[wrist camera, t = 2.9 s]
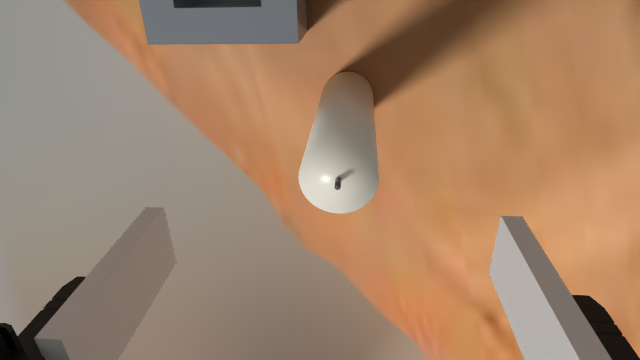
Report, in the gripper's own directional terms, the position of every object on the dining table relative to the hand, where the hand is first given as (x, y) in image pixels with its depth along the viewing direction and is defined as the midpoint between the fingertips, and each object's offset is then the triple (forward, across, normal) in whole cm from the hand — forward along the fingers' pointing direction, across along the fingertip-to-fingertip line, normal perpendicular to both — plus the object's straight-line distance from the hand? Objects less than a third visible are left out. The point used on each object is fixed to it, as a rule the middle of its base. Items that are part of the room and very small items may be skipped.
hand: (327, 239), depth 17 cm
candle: (+19, 0, 0) cm, 19 cm away
